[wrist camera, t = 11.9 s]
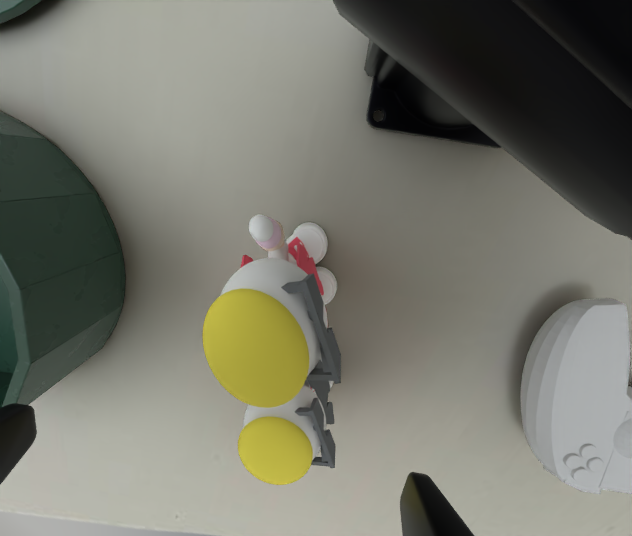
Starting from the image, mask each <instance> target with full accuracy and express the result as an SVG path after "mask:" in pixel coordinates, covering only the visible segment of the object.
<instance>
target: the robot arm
mask: <svg viewBox="0 0 632 536" xmlns="http://www.w3.org/2000/svg"><path fill="white" fill-rule="evenodd" d="M333 2H334V4H335V6H336V8H337V10H338V12H339V14H340V15H341V16H342V17H343V18H345V19H346V20H347V21H348V22H349V23H351V24H352V25H353V26H354V27H356V28H357V29H358V30H359V31H360V32H362V33H363V34H364V35H365V36H367V37H368V38H369V39H370V40H369V46H368V52H367V58H366V63H365V69H364V70H365V71H366V73H367V75H368V76H373V83H372V88H371V94H370V99H369V105H368V110H367V122H368V124H369V125H370V126H371V127H372V128H375V129H380V130H386V131H392V132H399V133H405V134H411V135H417V136H424V137H430V138H436V139H443V140H449V141H455V142H461V143H468V144H474V145H480V146H487V147H493V148H501V147H502V148H503V149H504V150H506V151H507V152H508V153H509V154H511V155H512V156H513V157H514V158H515V159H517V160H518V161H519V162H520V163H522V164H523V165H524V166H525V167H526V168H528V169H529V170H530V171H531V172H533V173H534V174H535V175H536V176H537V177H539V178H540V179H541V180H542V181H544V182H545V183H546V184H547V185H548V186H550V187H551V188H552V189H553V190H555V191H556V192H557V193H558V194H559V195H561V196H562V197H563V198H564V199H566V200H567V201H568V202H569V203H570V204H572V205H573V206H574V207H575V208H576V209H578V210H579V211H580V212H581V213H583V214H584V215H585V216H586V217H588V218H590V219H592V220H593V221H595V222H597V223H598V224H600V225H602V226H604V227H605V228H607V229H609V230H611V231H612V232H614V233H616V234H620V235H624V236H627V237H628V238H630V239H631V240H632V0H333ZM375 111H381V112H382V113H383V120H382V121H379V122H377V121H375V120H374V118H373V113H374V112H375ZM36 434H37V430H36V422H35V414H34V409H33V408H32V407H31V406H29V405H23V404H17V403H13V404H9V405H6V406H3V407H1V408H0V484H1V483H2V482H3V481H4V479H5V478H6V477H7V476H8V474H9V473H10V472H11V470H12V469H13V468H14V467H15V465H16V464H17V463H18V462H19V460H20V459H21V458H22V456H23V455H24V454H25V453H26V451H27V450H28V449H29V448H30V446H31V445H32V443H33V442H34V440H35V437H36ZM400 511H401V521H402V532H403V536H474V535H473V533H472V532H471V531H470V529H469V528H468V527H467V526H466V524H465V523H464V522H463V520H462V519H461V518H460V516H459V515H458V514H457V512H456V511H455V510H454V508H453V507H452V506H451V505H450V503H449V502H448V501H447V499H446V498H445V497H444V495H443V494H442V493H441V491H440V490H439V489H438V487H437V486H436V485H435V484H434V482H433V481H432V480H431V478H430V477H429V476H428V475H426V474H421V473H415V472H411V473H410V474H409V475H408V477H407V480H406V483H405V486H404V489H403V492H402V495H401V499H400Z"/></svg>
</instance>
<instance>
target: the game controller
mask: <svg viewBox="0 0 632 536" xmlns="http://www.w3.org/2000/svg"><path fill="white" fill-rule="evenodd" d="M629 367H630V339H629V327H628V311H627V306H626V304H625V303H622V302H620V301H618V300H615V299H611V298H603V299H581V300H576V301H572V302H570V303H568V304H566V305H564V306H562V307H561V308H559V309H558V310H557V311H555V312H554V313H553V314H552V315H551V316H550V317H549V318H548V320H547V321H546V322H545V323H544V324H543V325H542V327H541V328H540V330H539V331H538V333H537V334H536V336H535V338H534V340H533V342H532V344H531V346H530V349H529V351H528V354H527V357H526V361H525V364H524V368H523V374H522V380H521V393H520V395H521V417H522V424H523V428H524V432H525V436H526V438H527V441H528V444H529V446H530V448H531V450H532V451H533V453H534V454H535V456H536V457H537V459H538V460H539V461H540V462H541V463H542V464H543V468H544V470H546V471H548V472H550V473H551V474H553V475H555V476H557V477H558V478H559V479H560V480H561V481H562V482H564V483H566V484H568V485H570V486H572V487H574V488H576V489H578V490H580V491H583V492H589V493H595V494H600V493H601V489H603V490H609V491H616V492H623V493H629V494H632V387H630V386H628V380H629Z"/></svg>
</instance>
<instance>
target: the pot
mask: <svg viewBox="0 0 632 536" xmlns="http://www.w3.org/2000/svg"><path fill="white" fill-rule="evenodd" d="M124 295H125V268H124V259H123V254H122V250H121V246H120V241H119V238H118V236H117V233H116V230H115V227H114V225H113V222H112V220H111V218H110V216H109V214H108V212H107V210H106V208H105V206H104V204H103V202H102V201H101V199H100V198H99V196H98V194H97V193H96V191H95V190H94V188H93V187H92V185H91V184H90V182H89V181H88V180H87V179H86V177H85V176H84V175H83V174H82V172H81V171H80V170H79V169H78V167H77V166H76V165H75V164H74V163H73V162H72V161H71V160H70V159H69V158H68V157H67V156H66V155H65V154H64V153H63V152H62V151H61V150H60V149H58V148H57V147H56V146H55V145H53V144H52V143H51V142H50V141H49V140H47V139H46V138H45V137H44V136H42V135H41V134H39V133H38V132H36V131H35V130H33V129H32V128H30V127H29V126H27V125H26V124H24V123H23V122H21V121H19V120H17V119H15V118H13V117H11V116H9V115H7V114H5V113H3V112H0V408H1V407H3V406H6V405H9V404H13V403H17V404H23V405H29V404H30V403H31V402H32V401H34V400H35V399H36V398H38V397H39V396H40V395H42V394H43V393H44V392H45V391H47V390H48V389H49V388H51V387H52V386H53V385H55V384H56V383H57V382H58V381H60V380H61V379H62V378H64V377H65V376H66V375H68V374H69V373H70V372H71V371H73V370H74V369H75V368H77V367H78V366H79V365H81V364H82V363H83V362H84V361H86V360H87V359H88V358H90V357H91V356H92V355H94V354H95V353H96V352H97V351H99V350H100V349H101V348H102V347H103V346H104V344H105V342H106V340H107V339H108V338H109V337H110V335H111V333H112V331H113V329H114V328H115V326H116V324H117V322H118V319H119V316H120V313H121V310H122V306H123V301H124Z"/></svg>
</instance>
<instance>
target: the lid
mask: <svg viewBox="0 0 632 536" xmlns="http://www.w3.org/2000/svg"><path fill="white" fill-rule="evenodd" d="M40 1H42V0H0V23H3V22H6V21H8V20H10V19H12V18H14V17H17V16H19V15H21V14H23V13H25V12H26V11H28V10H29V9H30V8H32V7H33V6H35V5H36V4H38V3H39V2H40Z"/></svg>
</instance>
